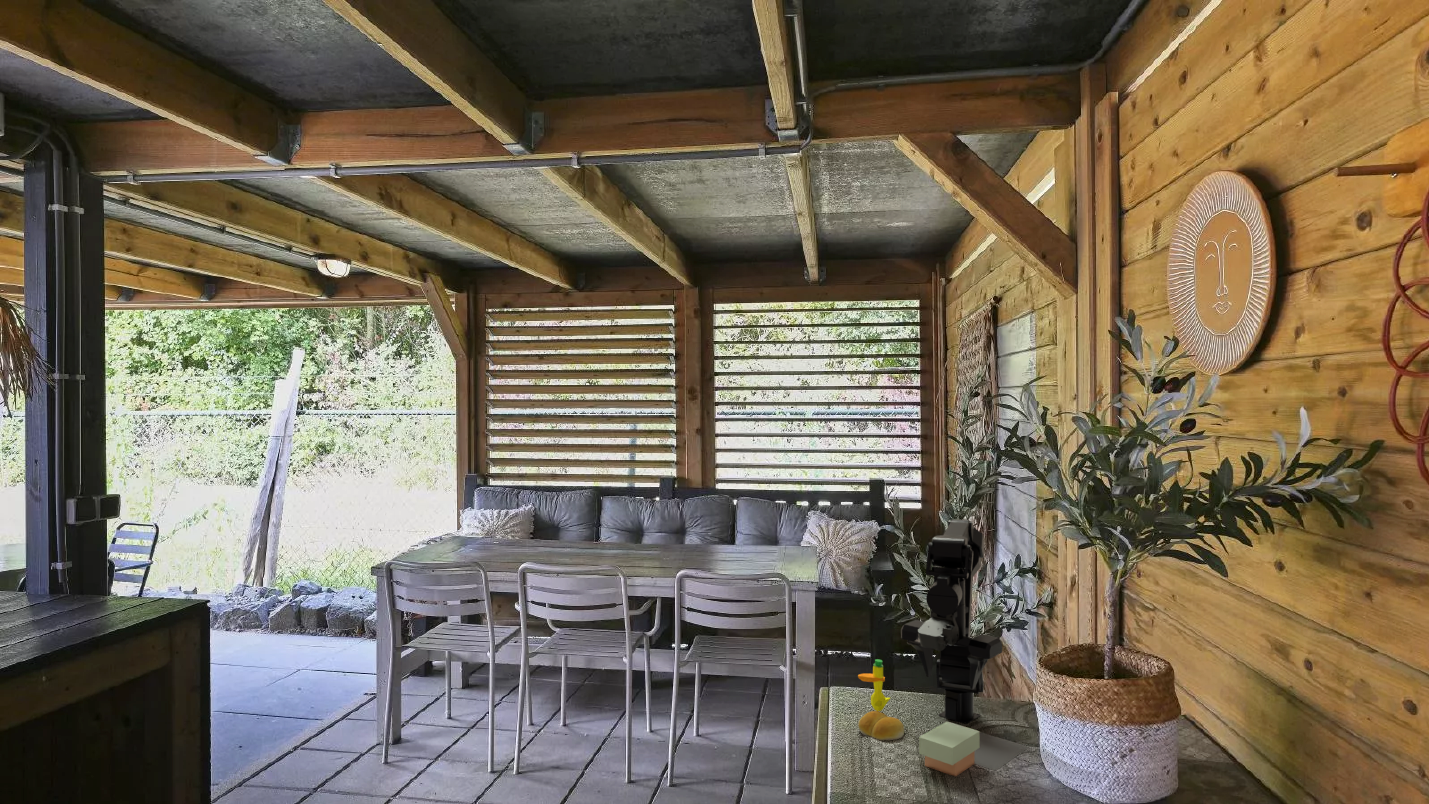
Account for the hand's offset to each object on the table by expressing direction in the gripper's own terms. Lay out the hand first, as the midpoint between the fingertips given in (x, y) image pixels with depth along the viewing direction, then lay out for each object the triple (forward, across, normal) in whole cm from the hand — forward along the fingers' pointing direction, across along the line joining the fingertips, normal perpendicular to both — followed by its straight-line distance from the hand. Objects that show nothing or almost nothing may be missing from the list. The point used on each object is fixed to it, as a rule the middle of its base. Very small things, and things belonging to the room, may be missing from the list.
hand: (950, 682), depth 154 cm
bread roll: (+12, -12, -5) cm, 18 cm away
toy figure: (+12, -18, +1) cm, 22 cm away
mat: (+12, +7, +1) cm, 14 cm away
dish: (+12, +5, -10) cm, 16 cm away
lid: (+9, +5, -10) cm, 14 cm away
